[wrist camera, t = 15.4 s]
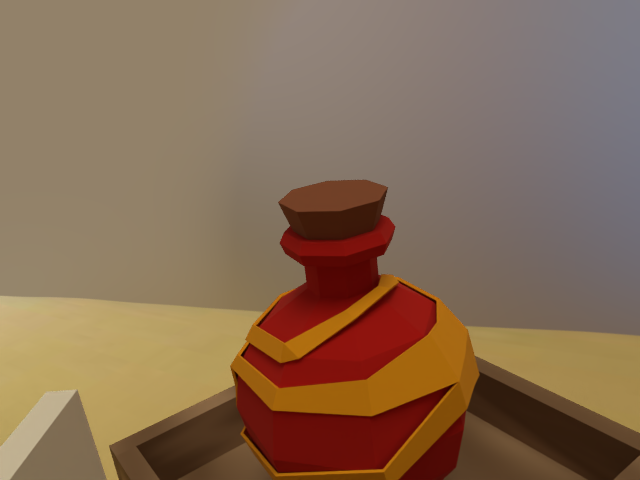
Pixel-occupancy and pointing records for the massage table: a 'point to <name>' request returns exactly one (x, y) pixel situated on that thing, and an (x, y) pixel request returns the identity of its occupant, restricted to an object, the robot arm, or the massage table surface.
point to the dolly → (474, 456)
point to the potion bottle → (352, 355)
